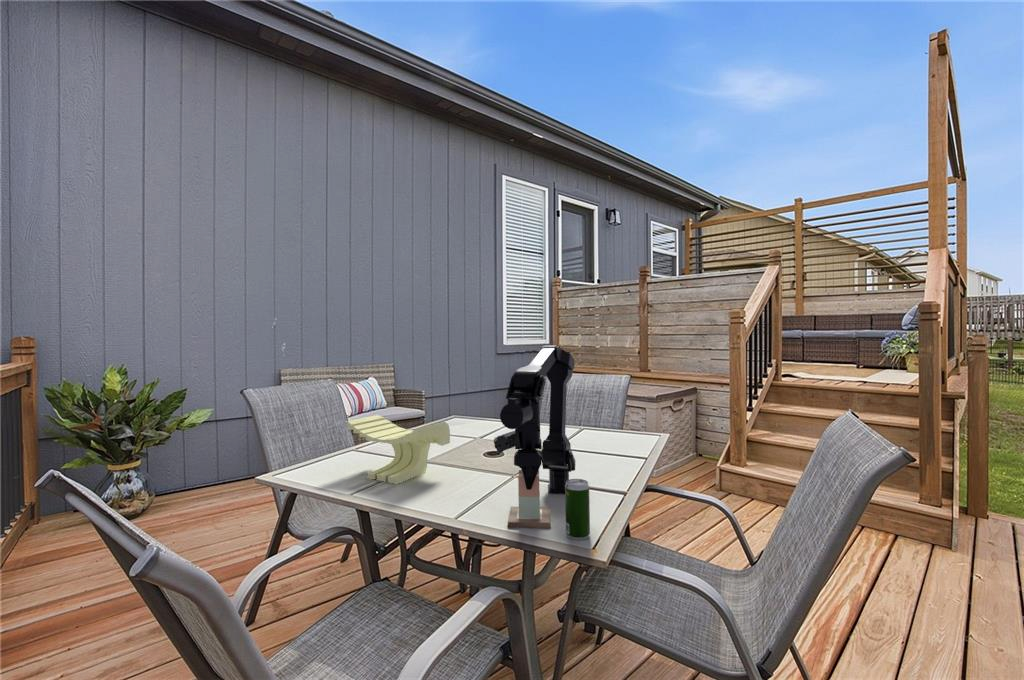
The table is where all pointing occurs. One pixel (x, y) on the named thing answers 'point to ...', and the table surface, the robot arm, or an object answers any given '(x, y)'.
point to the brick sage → (529, 507)
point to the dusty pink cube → (522, 487)
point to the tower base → (529, 519)
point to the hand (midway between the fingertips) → (529, 485)
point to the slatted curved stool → (401, 445)
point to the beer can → (577, 509)
